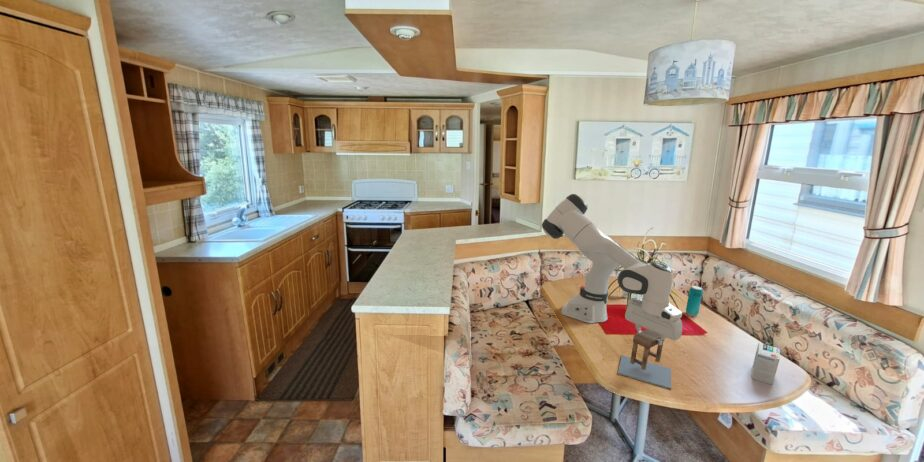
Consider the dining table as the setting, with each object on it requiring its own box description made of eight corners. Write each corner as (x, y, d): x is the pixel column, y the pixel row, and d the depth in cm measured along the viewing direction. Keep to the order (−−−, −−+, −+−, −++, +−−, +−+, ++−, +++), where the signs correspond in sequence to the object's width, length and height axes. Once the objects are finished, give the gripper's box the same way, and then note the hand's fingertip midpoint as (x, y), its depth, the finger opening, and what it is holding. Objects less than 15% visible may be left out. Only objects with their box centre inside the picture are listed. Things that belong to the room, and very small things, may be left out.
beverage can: (699, 317, 192) (705, 290, 189) (687, 316, 193) (692, 288, 190) (695, 312, 198) (700, 285, 194) (683, 311, 199) (688, 284, 195)
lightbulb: (618, 298, 212) (621, 280, 210) (618, 294, 218) (620, 277, 215) (630, 300, 210) (633, 282, 208) (630, 296, 216) (632, 278, 213)
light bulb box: (752, 365, 151) (758, 341, 149) (773, 372, 147) (780, 348, 144) (750, 378, 143) (757, 352, 141) (773, 385, 139) (780, 359, 136)
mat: (617, 373, 143) (617, 372, 143) (621, 356, 155) (621, 355, 155) (670, 389, 135) (671, 388, 135) (670, 369, 147) (670, 368, 147)
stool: (649, 328, 147) (633, 335, 141) (665, 334, 142) (649, 342, 136) (645, 354, 149) (629, 362, 143) (660, 361, 145) (644, 370, 139)
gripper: (624, 298, 145) (619, 330, 148) (678, 319, 129) (671, 354, 132) (633, 294, 149) (628, 326, 152) (687, 314, 132) (680, 349, 136)
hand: (649, 339), depth 142 cm, fingers closed on stool, 6 cm apart
